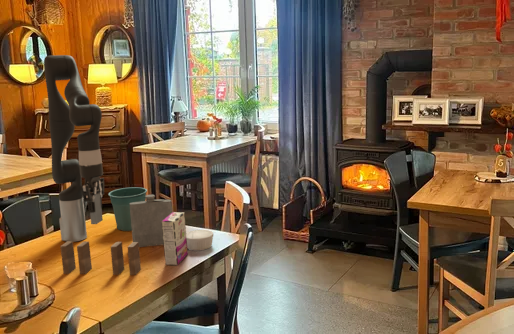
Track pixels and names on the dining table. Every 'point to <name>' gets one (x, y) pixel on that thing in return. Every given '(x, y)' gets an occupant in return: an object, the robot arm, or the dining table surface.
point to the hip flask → (149, 220)
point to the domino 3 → (97, 215)
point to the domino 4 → (117, 258)
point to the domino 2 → (84, 257)
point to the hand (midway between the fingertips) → (95, 210)
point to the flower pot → (125, 205)
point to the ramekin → (199, 239)
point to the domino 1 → (68, 257)
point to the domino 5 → (134, 258)
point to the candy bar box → (174, 238)
